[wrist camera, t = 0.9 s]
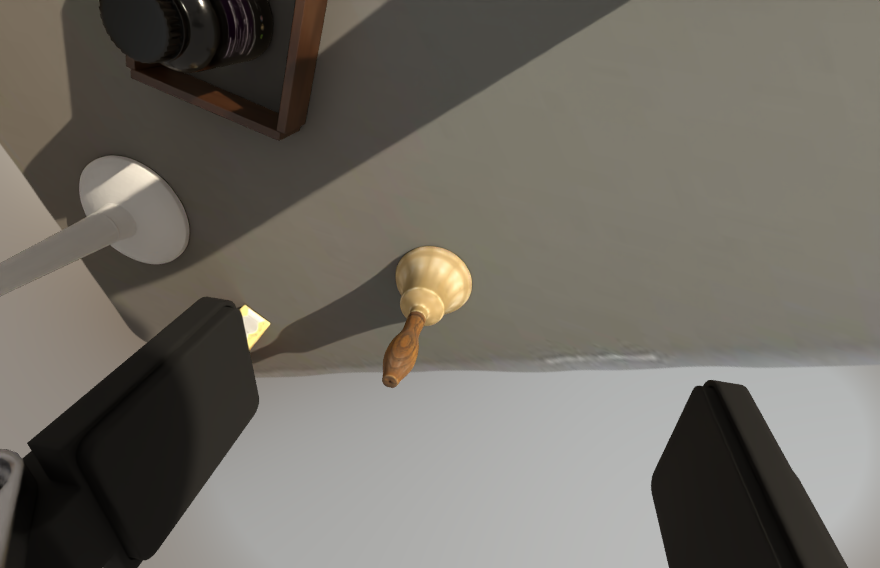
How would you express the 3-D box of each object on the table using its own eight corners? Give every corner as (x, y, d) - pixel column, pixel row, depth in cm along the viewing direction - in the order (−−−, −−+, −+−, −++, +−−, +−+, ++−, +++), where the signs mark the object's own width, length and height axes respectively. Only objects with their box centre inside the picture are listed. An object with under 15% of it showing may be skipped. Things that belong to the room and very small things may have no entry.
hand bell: (381, 261, 49) (319, 358, 35) (450, 234, 45) (409, 329, 32) (418, 321, 52) (374, 431, 38) (485, 300, 48) (461, 411, 35)
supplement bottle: (205, 51, 41) (93, 66, 31) (197, -41, 37) (68, -58, 27) (277, 69, 40) (188, 90, 30) (276, -22, 37) (175, -32, 27)
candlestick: (78, 222, 54) (-326, 408, 29) (90, 131, 47) (-425, 270, 22) (176, 280, 56) (-127, 503, 31) (201, 199, 49) (-162, 401, 24)
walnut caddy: (159, -126, 35) (117, -140, 31) (336, -49, 35) (314, -55, 32) (159, 70, 43) (126, 76, 39) (303, 132, 43) (283, 143, 40)
